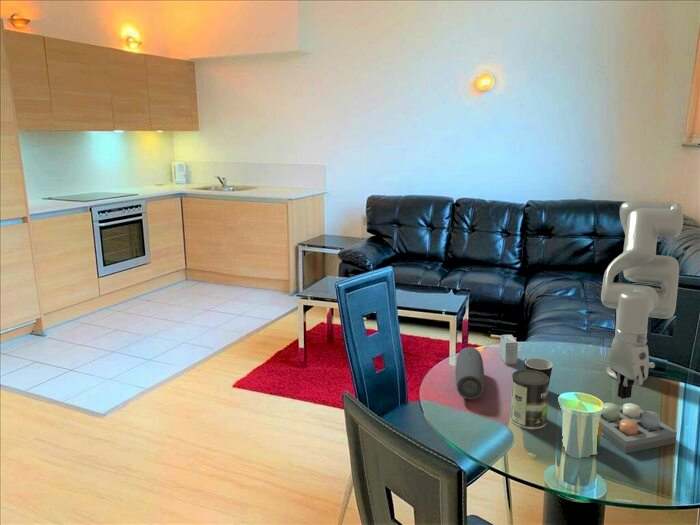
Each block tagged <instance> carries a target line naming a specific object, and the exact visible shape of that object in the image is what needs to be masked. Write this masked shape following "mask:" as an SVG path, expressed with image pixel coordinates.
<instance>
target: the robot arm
mask: <svg viewBox="0 0 700 525" xmlns="http://www.w3.org/2000/svg"><path fill="white" fill-rule="evenodd" d="M619 219H620V223H621V226H622V229H623V232H624V236H625V237H624V244H623V251H622V253H620V254H619V255H618V256H617V257H615V258H614V259H613V260H612V261H611V262H610V263H609V264H608V266H607V268H606V269H605V271H604V272H603V273H604V274H603V278H602V286H601V293H600V300H601V303H602V305H603V306H604V307H606V308H609V309H612V310H613V309H614V310H615V312H616V316H615V318H616V319H615V330H614V333H615V334H614V336H613V340H612V343H611V345H610V346H611V347H610V350H609V351H610V352H609V359H608V362H609V366H606V374H607V375H608V376H610V377H611V378H613V379H614V380H615V379H616V382H617V384H618V385H617V386H618V387H617V397H619V398H620V399H622V400H625V399H628V398H631V397H632V391H633V390H632V389H633V386H634V385H635V386H642V385H643V384H644V382H645V381H646V380H648V377H649V376H648V375H649V369H654V368H655V367H656V365H655V362H653V361H651V362H650V359H649V358H650V357H649V356H650V354H649V347H648V346H649V345H648V344H647V342H648V339H647V336H648V335H647V334H648V323H649V318H653V319H654V318H655V319H671V318H672V317H673V316H674V314H675V312H676V307H677V300H678V299H677V298H678V297H677V296H678V288H679V278H680V277H679V276H680V265H679V262H678V260H677V259H676V258H675V257H674V256H670V255H659V254H657V243H658V237H659V238H673V239H674V238H677V237H679V236H680V234H681V232H682V231H683V224H684V214H683V207H682V205H681V204H680V203H679V202H675V201H661V200H660V201H658V200H657V201H656V200H655V201H654V200H630V201H625V202H623V203H622V204H621V205H620V207H619ZM622 272H623V277H624V279H625V280H627V281H629V282H634V283H640V284H641V283H642V284H648V285H642V284H641V285H639V284H633V283H624V282H623V283H622V282H614V280H615V279H614V278H615V277H616V276H617V275H618V274H619V273H622ZM651 284H652V285H658V286H660V287H661V288H654V287H652V286H649V285H651Z"/></svg>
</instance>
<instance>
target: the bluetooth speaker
mask: <svg viewBox="0 0 700 525" xmlns="http://www.w3.org/2000/svg"><path fill="white" fill-rule="evenodd" d="M454 372H455V382H456V383H455V387H456V390H457V392H458V394H459V395H460V396H461V398H463V399H467V400H476V399H479V397H481V396H482V394H483V392H484V389H485V368H484V362H483V358H482V354H481V352H480V351H479V350H478V349H476V348H475V347H471V346H467V347H464V348H462V349H460V351H459V352H458V355H457V357H456V365H455V371H454Z"/></svg>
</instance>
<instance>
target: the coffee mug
mask: <svg viewBox="0 0 700 525" xmlns="http://www.w3.org/2000/svg"><path fill="white" fill-rule="evenodd" d="M523 365H524V369H529V370H536V371H540V372H542V373H544V374H546V375H547V376H548V377H549V379H550V380H551V378H552V377H551V376H552V373H553V372H552V371H553V367H554V365H553V362H551V361H550V360H548V359H545V358H540V357H530V358H525V359H524V360H523ZM550 380H549V383H550Z"/></svg>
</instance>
